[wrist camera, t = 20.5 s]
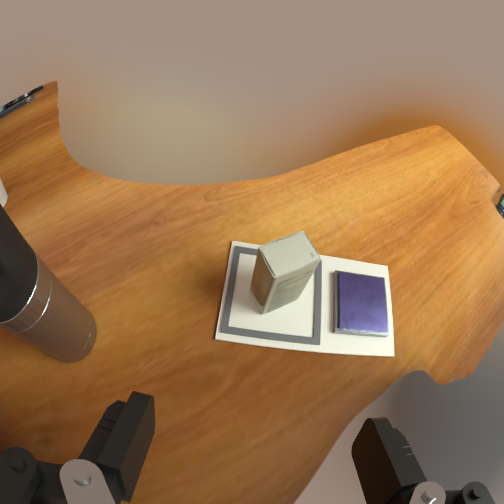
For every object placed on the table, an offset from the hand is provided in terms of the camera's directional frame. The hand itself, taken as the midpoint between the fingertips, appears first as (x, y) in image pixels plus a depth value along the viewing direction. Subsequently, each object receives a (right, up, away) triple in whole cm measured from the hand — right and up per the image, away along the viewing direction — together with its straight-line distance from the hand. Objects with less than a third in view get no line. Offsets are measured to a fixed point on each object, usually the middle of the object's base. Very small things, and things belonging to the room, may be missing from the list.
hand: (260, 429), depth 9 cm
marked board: (+9, -1, +34) cm, 36 cm away
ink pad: (+16, -2, +35) cm, 38 cm away
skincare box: (+3, 0, +34) cm, 34 cm away
